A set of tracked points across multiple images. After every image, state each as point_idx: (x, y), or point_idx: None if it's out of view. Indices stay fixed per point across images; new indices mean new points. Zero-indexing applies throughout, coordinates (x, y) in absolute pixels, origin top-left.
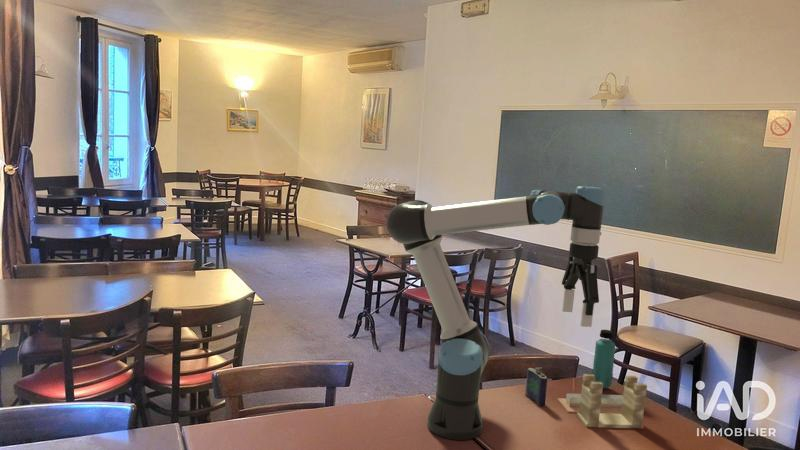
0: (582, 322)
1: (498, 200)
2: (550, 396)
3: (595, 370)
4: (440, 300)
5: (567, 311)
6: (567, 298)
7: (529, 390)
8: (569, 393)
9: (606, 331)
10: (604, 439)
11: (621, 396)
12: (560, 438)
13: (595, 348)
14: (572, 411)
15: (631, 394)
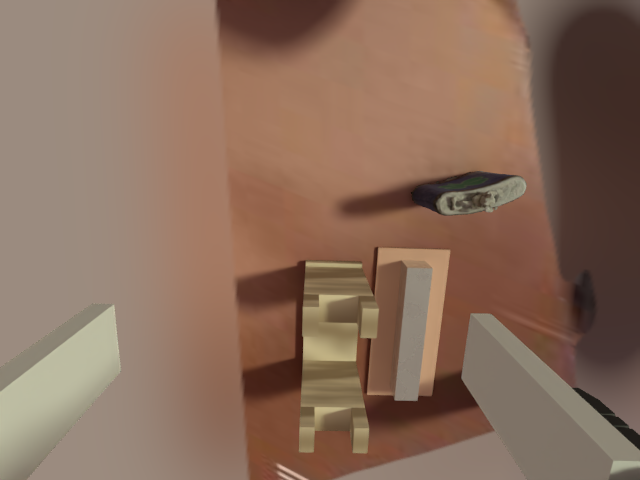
0: (72, 320)
1: None
2: (467, 237)
3: None
4: None
5: (468, 346)
6: (528, 408)
7: (472, 177)
8: (431, 275)
9: None
10: (251, 276)
11: (410, 395)
12: (250, 177)
13: None
14: (377, 258)
15: (322, 402)
